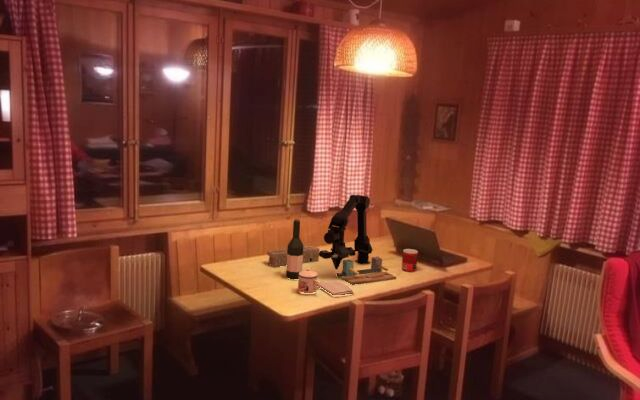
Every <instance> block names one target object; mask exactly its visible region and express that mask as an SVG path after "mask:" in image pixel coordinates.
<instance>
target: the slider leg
mask: <svg viewBox="0 0 640 400" xmlns="http://www.w3.org/2000/svg"><path fill="white" fill-rule="evenodd" d="M354 263H355V260H352V259H350V258H349V259H348V258H347V259H342V268H341V272H345V273H346V276H345V277H349V276H354V275H353V273H355V274H357V275H359V272H357V270H356V269H354ZM357 275H356V276H357Z"/></svg>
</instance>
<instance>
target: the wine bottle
mask: <svg viewBox="0 0 640 400" xmlns="http://www.w3.org/2000/svg"><path fill="white" fill-rule="evenodd" d="M292 226H293V228H292V238H291V240H290V241H289V242H288V244H287V266H286V269H285V270H286V272H285V278H286V277H288V278H290V279H299V275H298V274H299V272H301V271H303V264H304V263H303V246H305V245H304V244H303V242H302V239H301V238H300V235H301V234H300V231H301V230H300V229H301V221H300V219H299V218H295V219H294V220H293V225H292Z"/></svg>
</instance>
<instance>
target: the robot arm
mask: <svg viewBox="0 0 640 400" xmlns="http://www.w3.org/2000/svg"><path fill="white" fill-rule="evenodd" d="M370 203H371V198H370V197H369V196H368V195H362V194H350V195H349V198H348V200H347V201H346V203H345V204H344V206H343V207H342V208H341V210H339V211H337V212H335V214H333V216H332V217H331V219H330V223H329V224H328V227H327V229H328V230H327V232H326V233H325V234H324V235H323V241H324V242H325V243H326V244H328V245H331V244H332V245H331V246H332V247H331V248H330V251H328V250H326V249H324V250H323V249H322V250H319V258H321V259H324V260H327V259H331V261H332V262H331V263H332V264H333V266H334V267H333V268H334V269H335V270H338V269H339V267H340V264H341V262H343V260H345V259H346V258H347V259H348V258H349V257H354V256H356V253H357V256H356V257H357V259H356V260H354V263H357V264H359V265H368V264H371V262H370V261H369V256H370V254H372V252H373V247H372V244H371V242H370V241H371V240H370V238H369V236H368V235H367V232H368V231H367V229H368V228H367V210H368V209H369V207H370ZM354 209H355V210H356V213H357V216H356V217H357V219H356V220H357V237H356V238H355V239H354V244H353V247H354V248H353V247H352V246H347V245H346V242H345V232H346V230H347V226H348V224H349V217H350V215H351V214H352V213H353V211H354ZM346 246H347V247H346Z"/></svg>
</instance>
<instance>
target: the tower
mask: <svg viewBox="0 0 640 400" xmlns="http://www.w3.org/2000/svg"><path fill="white" fill-rule="evenodd" d="M287 248H288V247H287ZM287 248H278V249H274V250H270V249H268V250H267V251H266V255H267V256H268V257H269V258H268V265H270V264H271V265H270V266H272V265H273V266H272V267H274V268H281V267H280V266H284V267H287V266H286V265H287ZM320 251H321V250H320V248H319V247H317V246H311V245H304V246H303V264H310V262H311V263H316V262H319V259H320V256H319V252H320Z"/></svg>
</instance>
